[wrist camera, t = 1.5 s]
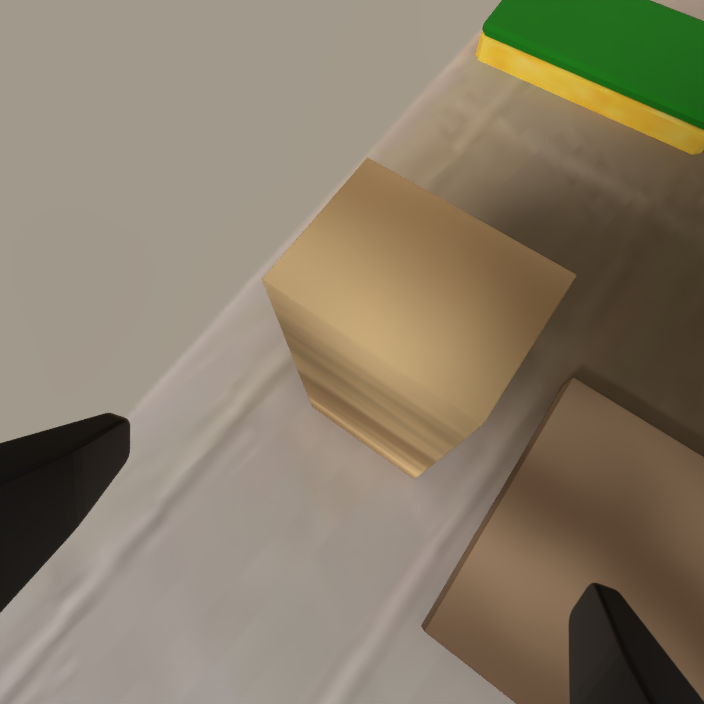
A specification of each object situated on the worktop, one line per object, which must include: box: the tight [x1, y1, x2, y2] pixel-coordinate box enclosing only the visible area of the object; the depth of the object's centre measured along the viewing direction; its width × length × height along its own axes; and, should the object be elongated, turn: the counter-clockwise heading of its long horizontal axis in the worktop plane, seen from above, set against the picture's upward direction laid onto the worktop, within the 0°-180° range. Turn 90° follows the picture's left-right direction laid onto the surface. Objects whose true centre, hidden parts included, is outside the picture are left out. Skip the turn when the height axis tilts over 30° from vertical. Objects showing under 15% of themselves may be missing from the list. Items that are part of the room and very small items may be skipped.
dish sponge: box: [476, 0, 704, 155], centre depth 28 cm, size 7×14×2 cm, turn 57°
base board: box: [422, 378, 704, 704], centre depth 19 cm, size 12×12×1 cm
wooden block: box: [262, 158, 577, 479], centre depth 16 cm, size 4×6×12 cm
